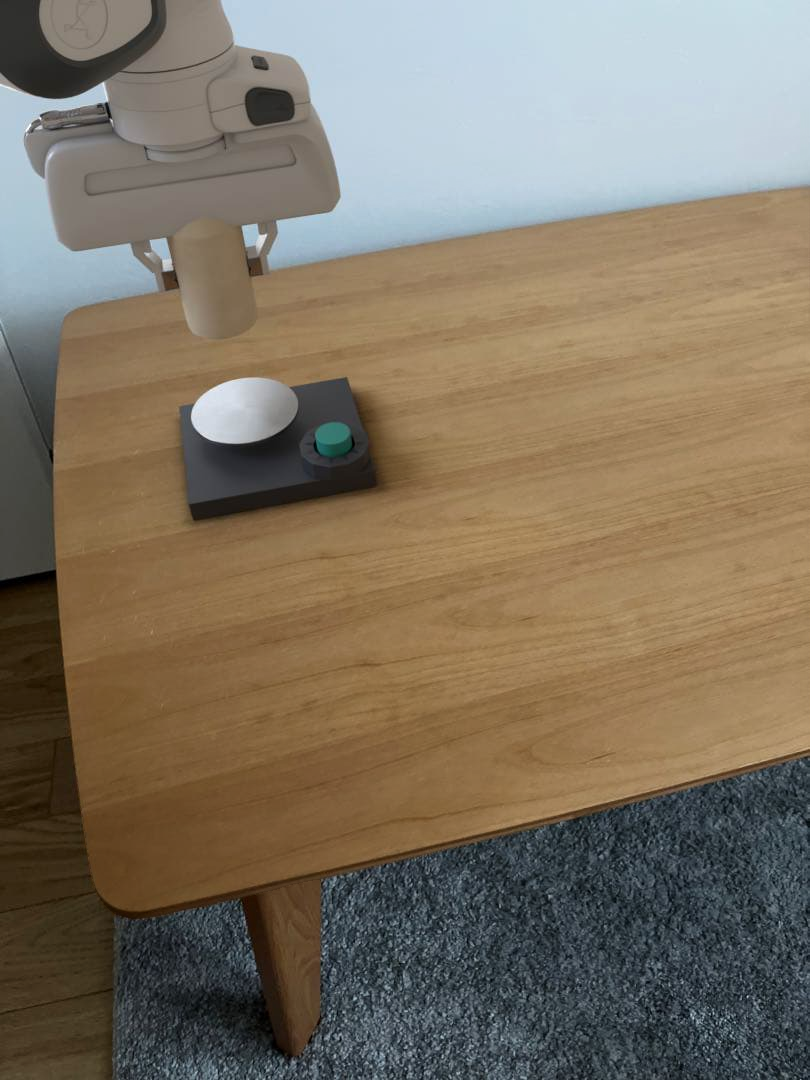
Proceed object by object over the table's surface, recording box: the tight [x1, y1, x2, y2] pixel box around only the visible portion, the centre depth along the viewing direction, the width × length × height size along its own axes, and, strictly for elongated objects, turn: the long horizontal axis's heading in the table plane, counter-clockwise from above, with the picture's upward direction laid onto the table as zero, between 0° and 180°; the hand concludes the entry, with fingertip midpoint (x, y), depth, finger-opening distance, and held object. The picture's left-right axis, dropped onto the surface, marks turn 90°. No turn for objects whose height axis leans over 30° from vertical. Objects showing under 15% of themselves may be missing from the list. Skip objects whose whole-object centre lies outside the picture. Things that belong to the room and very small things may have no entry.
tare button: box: [315, 422, 352, 458], centre depth 86 cm, size 3×3×2 cm
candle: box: [165, 217, 258, 341], centre depth 75 cm, size 6×6×10 cm
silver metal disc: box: [191, 377, 299, 447], centre depth 90 cm, size 10×10×1 cm
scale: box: [178, 376, 378, 521], centre depth 90 cm, size 16×14×4 cm
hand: (215, 279), depth 76 cm, fingers closed on candle, 5 cm apart
